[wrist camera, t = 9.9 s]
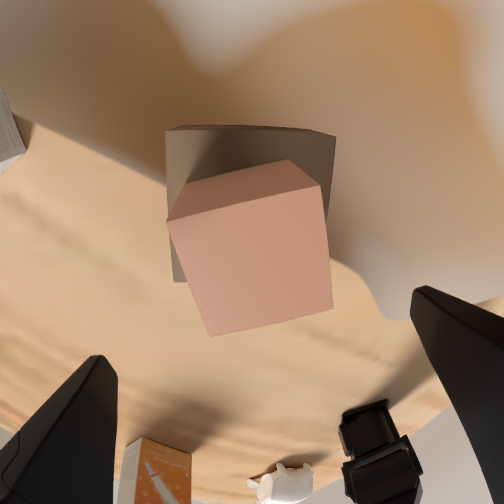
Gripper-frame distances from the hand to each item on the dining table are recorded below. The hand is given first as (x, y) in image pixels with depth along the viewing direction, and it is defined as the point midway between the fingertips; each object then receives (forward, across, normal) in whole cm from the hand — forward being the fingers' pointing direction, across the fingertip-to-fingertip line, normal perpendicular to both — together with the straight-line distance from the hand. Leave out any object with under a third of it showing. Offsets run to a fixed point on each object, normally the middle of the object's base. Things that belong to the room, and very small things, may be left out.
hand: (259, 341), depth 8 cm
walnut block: (+13, -1, 0) cm, 13 cm away
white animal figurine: (+13, +4, +48) cm, 50 cm away
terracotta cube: (+8, 0, 0) cm, 8 cm away
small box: (+13, +19, +32) cm, 40 cm away
